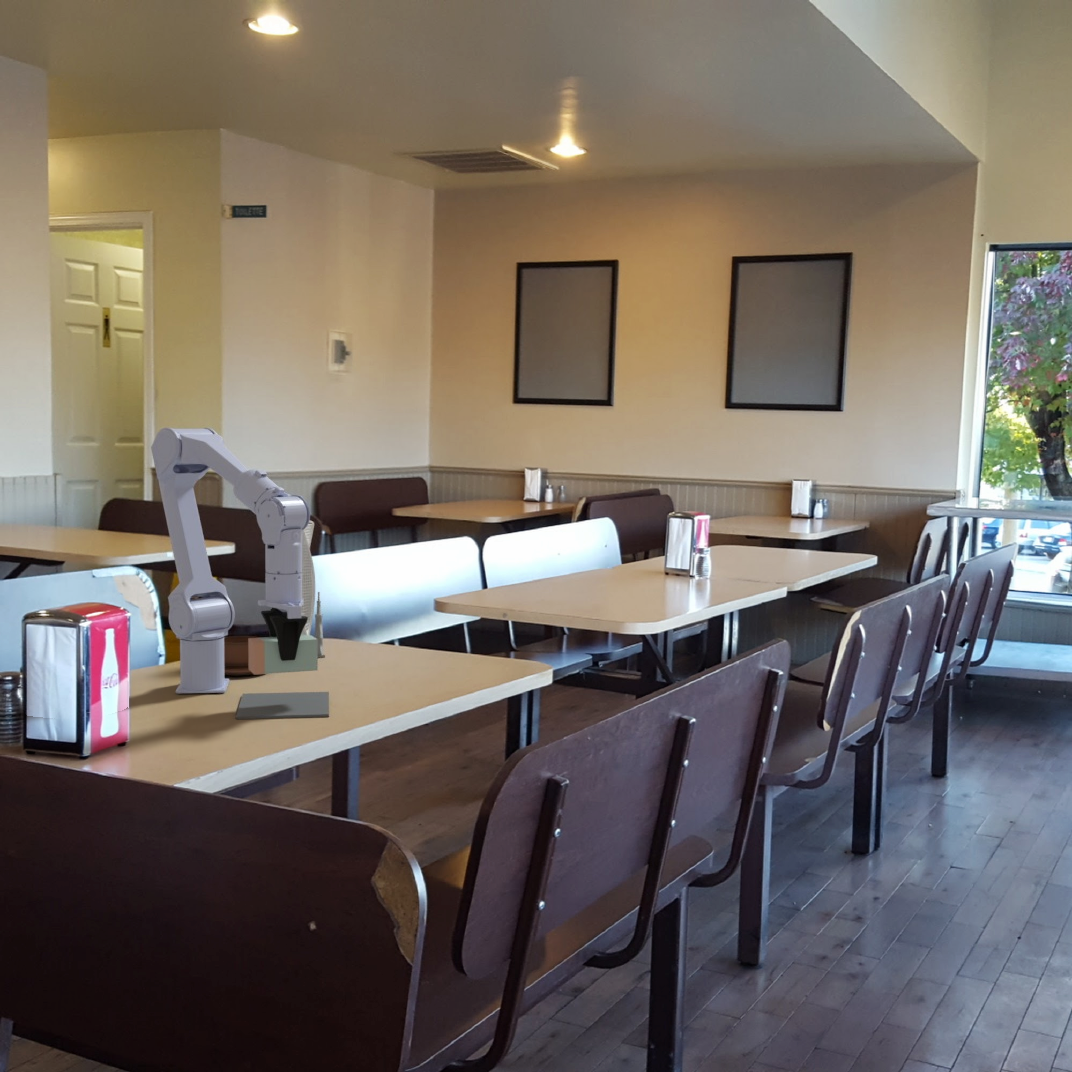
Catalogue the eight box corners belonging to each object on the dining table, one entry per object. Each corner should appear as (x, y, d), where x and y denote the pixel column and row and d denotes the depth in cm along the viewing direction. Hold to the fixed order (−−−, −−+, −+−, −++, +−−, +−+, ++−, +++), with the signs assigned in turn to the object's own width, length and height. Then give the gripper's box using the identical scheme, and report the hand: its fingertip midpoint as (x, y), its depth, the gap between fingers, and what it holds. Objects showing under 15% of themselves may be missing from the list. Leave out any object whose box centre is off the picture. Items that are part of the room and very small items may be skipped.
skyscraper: (282, 660, 232) (281, 513, 229) (269, 653, 239) (269, 510, 236) (324, 657, 236) (324, 512, 233) (311, 650, 243) (311, 509, 240)
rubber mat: (242, 695, 202) (242, 693, 202) (328, 694, 204) (328, 691, 204) (235, 719, 186) (235, 716, 186) (328, 716, 188) (328, 714, 188)
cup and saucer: (192, 677, 217) (192, 642, 216) (227, 664, 229) (227, 632, 228) (253, 681, 214) (253, 647, 213) (285, 668, 225) (285, 635, 225)
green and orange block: (310, 665, 199) (310, 634, 198) (317, 670, 194) (317, 639, 194) (248, 669, 194) (248, 638, 194) (254, 674, 190) (254, 642, 190)
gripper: (249, 568, 198) (249, 650, 199) (268, 578, 185) (269, 667, 186) (292, 566, 201) (292, 648, 202) (314, 576, 188) (314, 664, 189)
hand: (284, 657), depth 194 cm, fingers closed on green and orange block, 4 cm apart
